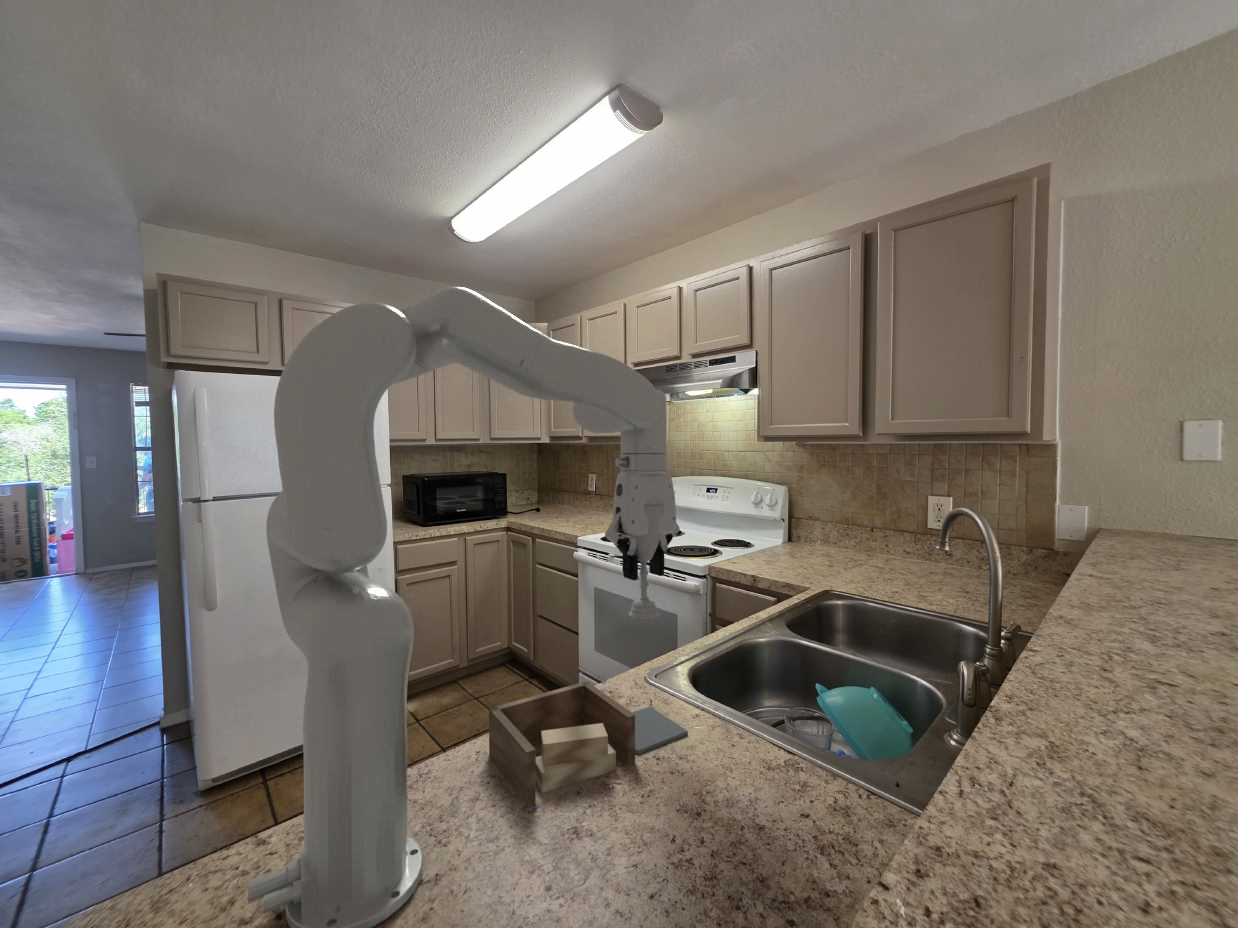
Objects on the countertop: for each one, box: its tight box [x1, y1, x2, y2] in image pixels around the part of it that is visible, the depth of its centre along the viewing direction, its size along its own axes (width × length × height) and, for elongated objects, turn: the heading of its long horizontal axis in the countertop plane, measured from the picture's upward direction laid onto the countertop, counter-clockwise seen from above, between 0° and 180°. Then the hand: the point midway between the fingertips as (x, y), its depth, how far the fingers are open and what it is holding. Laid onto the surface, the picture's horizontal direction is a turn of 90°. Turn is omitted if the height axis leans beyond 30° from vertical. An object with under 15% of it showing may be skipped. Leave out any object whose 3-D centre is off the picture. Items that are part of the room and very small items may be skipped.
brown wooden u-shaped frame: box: [488, 680, 636, 808], centre depth 75 cm, size 17×14×7 cm
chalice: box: [628, 505, 664, 620], centre depth 83 cm, size 7×7×18 cm
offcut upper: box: [540, 723, 608, 766], centre depth 72 cm, size 9×4×3 cm, turn 104°
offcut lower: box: [536, 744, 617, 793], centre depth 72 cm, size 11×4×3 cm, turn 117°
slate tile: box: [631, 706, 689, 755], centre depth 83 cm, size 10×10×1 cm
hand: (643, 575), depth 83 cm, fingers closed on chalice, 4 cm apart
